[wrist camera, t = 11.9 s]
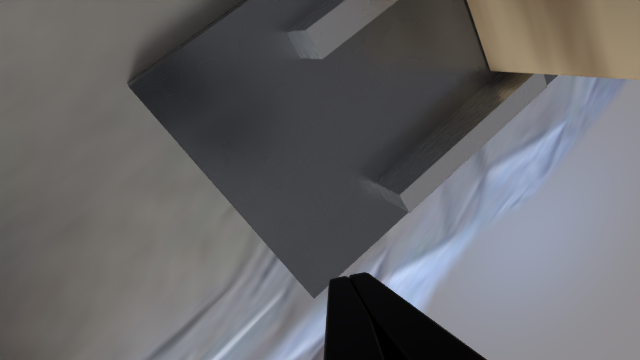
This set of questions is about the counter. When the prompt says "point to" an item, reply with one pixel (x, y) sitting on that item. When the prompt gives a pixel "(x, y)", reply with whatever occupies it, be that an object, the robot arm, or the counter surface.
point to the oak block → (560, 36)
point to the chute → (332, 116)
